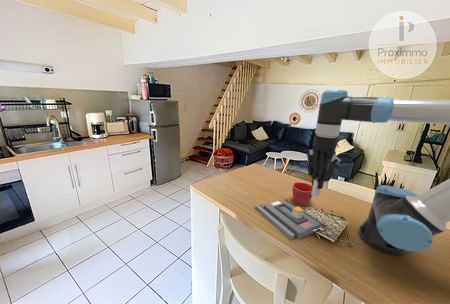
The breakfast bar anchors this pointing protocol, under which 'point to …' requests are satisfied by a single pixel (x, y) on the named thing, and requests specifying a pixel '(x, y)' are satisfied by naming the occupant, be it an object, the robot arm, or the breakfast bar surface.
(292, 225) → the breaker panel
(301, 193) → the flower pot
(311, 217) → the long gray bar
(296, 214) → the lever
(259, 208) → the grey long bar
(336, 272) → the breakfast bar surface
